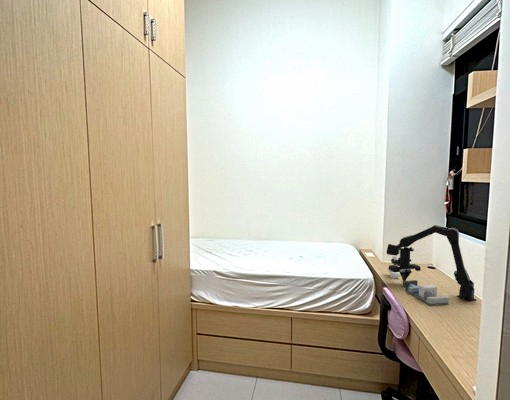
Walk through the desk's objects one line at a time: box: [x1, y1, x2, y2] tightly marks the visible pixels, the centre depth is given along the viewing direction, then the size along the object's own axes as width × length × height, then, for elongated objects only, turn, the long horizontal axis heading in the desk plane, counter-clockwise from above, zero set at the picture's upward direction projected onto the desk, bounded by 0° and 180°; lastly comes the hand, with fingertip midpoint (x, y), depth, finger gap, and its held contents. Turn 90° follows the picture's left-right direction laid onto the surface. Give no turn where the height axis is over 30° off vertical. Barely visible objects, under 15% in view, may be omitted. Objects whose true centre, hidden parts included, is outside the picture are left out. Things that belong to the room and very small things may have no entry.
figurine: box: [387, 255, 401, 279], centre depth 195 cm, size 7×9×15 cm
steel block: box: [418, 284, 438, 299], centre depth 162 cm, size 8×4×6 cm, turn 99°
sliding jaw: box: [402, 279, 419, 293], centre depth 172 cm, size 11×9×4 cm
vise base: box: [405, 288, 450, 307], centre depth 163 cm, size 11×20×4 cm, turn 9°
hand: (403, 281), depth 181 cm, fingers closed
